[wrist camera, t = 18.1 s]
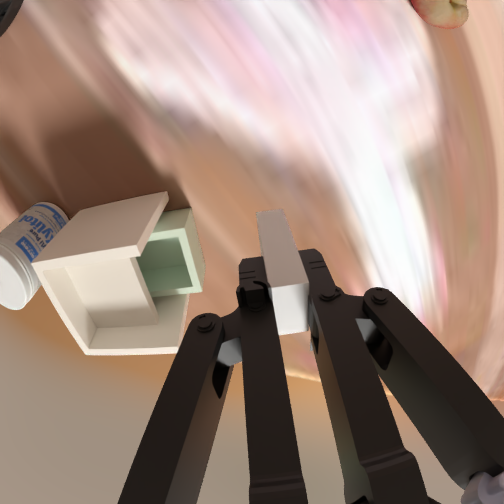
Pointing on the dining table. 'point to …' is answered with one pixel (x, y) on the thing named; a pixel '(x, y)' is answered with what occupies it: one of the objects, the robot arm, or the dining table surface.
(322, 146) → the dining table surface
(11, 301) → the supplement tub
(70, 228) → the box
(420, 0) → the fruit
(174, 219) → the tray
